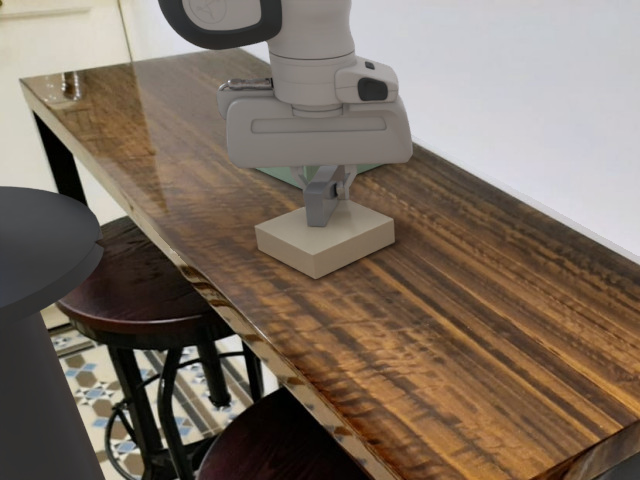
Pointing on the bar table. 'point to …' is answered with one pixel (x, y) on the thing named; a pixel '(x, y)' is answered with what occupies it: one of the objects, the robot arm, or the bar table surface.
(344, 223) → the block
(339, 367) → the bar table surface
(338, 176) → the slate gray plank
